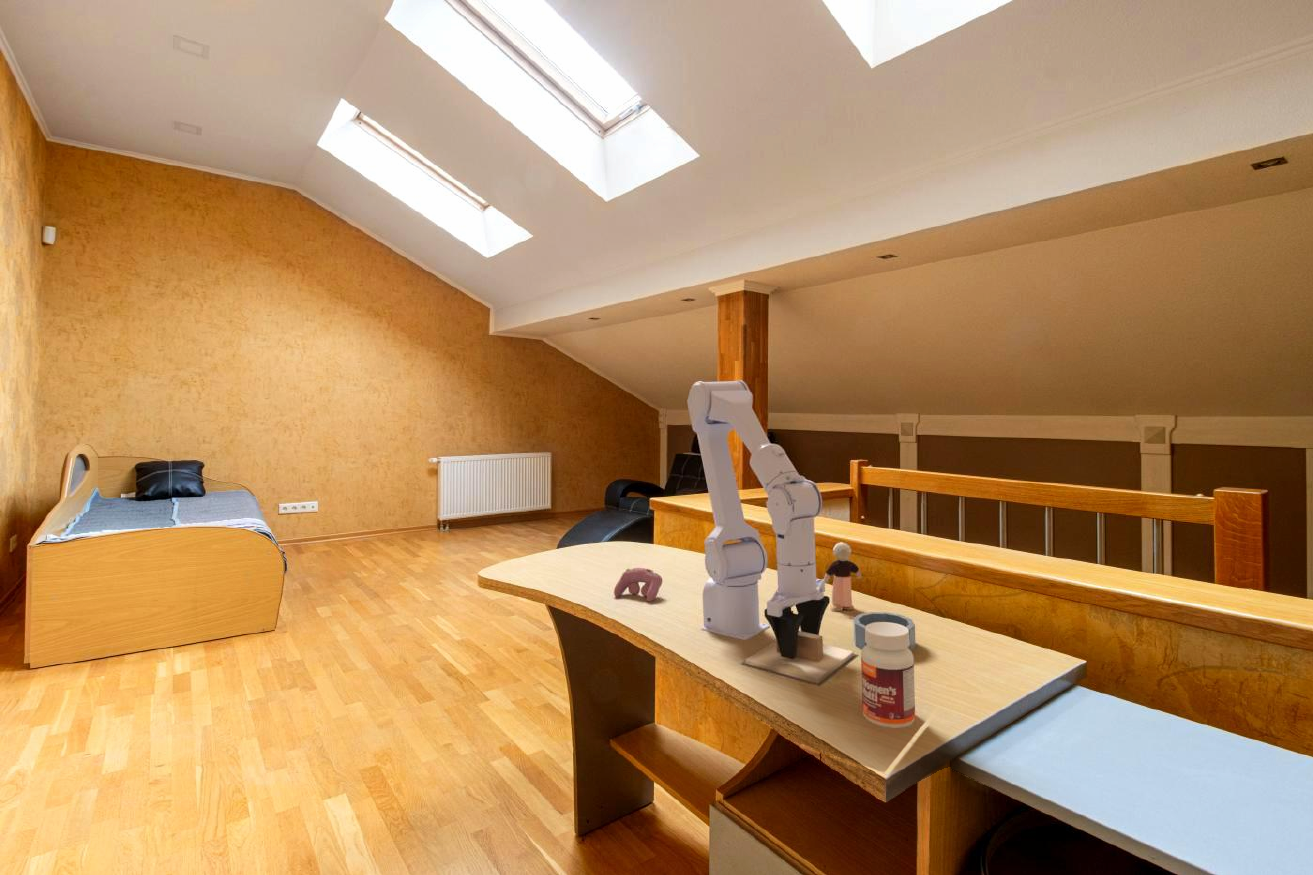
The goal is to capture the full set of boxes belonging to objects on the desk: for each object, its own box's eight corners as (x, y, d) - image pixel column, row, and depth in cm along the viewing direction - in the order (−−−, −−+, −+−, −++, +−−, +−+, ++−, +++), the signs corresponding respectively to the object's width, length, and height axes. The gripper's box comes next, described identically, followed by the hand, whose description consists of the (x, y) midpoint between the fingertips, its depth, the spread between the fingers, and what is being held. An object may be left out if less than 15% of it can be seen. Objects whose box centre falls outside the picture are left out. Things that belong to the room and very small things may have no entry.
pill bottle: (854, 721, 77) (851, 631, 77) (873, 701, 82) (871, 616, 81) (905, 736, 73) (903, 641, 73) (922, 715, 78) (920, 625, 77)
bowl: (845, 649, 100) (844, 624, 99) (868, 632, 106) (867, 608, 106) (902, 662, 94) (901, 635, 93) (922, 643, 100) (922, 618, 100)
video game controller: (660, 605, 131) (667, 572, 133) (649, 601, 127) (656, 567, 130) (622, 599, 136) (629, 567, 139) (610, 595, 133) (617, 563, 135)
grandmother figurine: (834, 614, 116) (832, 546, 115) (821, 608, 119) (819, 542, 119) (867, 607, 119) (865, 541, 118) (853, 602, 122) (851, 538, 122)
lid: (744, 663, 95) (743, 636, 95) (784, 638, 104) (783, 614, 104) (817, 683, 87) (816, 654, 87) (853, 655, 96) (853, 628, 96)
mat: (740, 666, 95) (740, 663, 95) (783, 639, 105) (783, 637, 105) (819, 688, 86) (819, 685, 86) (858, 657, 96) (858, 654, 96)
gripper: (796, 576, 87) (800, 672, 87) (841, 554, 98) (844, 640, 98) (753, 569, 91) (756, 660, 92) (800, 549, 102) (803, 631, 103)
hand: (799, 649), depth 95 cm, fingers open, 6 cm apart
